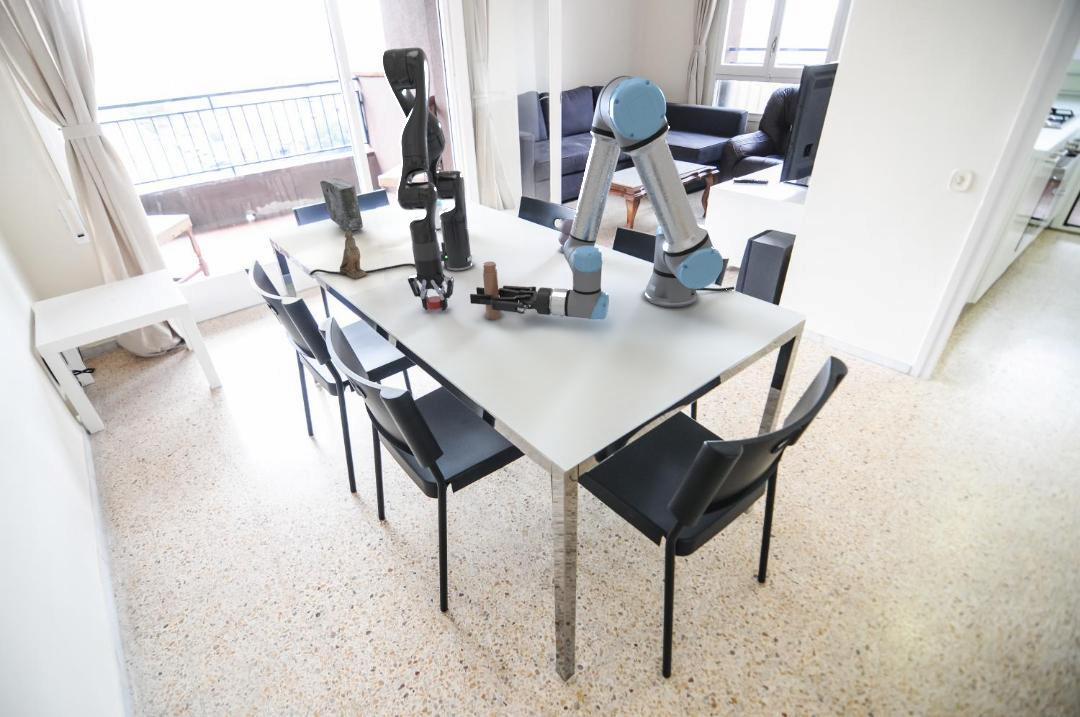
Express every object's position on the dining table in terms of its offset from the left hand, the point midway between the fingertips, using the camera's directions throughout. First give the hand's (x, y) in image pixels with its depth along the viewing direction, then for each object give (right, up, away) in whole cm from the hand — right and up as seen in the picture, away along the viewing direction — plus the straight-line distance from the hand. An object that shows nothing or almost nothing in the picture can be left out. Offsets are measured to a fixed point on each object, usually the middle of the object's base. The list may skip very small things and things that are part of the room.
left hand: (435, 309), depth 150 cm
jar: (+18, -3, -4) cm, 18 cm away
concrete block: (-56, +45, +78) cm, 106 cm away
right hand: (+12, +3, -6) cm, 14 cm away
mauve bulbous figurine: (+43, +27, +42) cm, 65 cm away
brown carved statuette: (-36, +16, +29) cm, 49 cm away
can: (-14, +44, +74) cm, 87 cm away
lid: (0, +2, -2) cm, 3 cm away
